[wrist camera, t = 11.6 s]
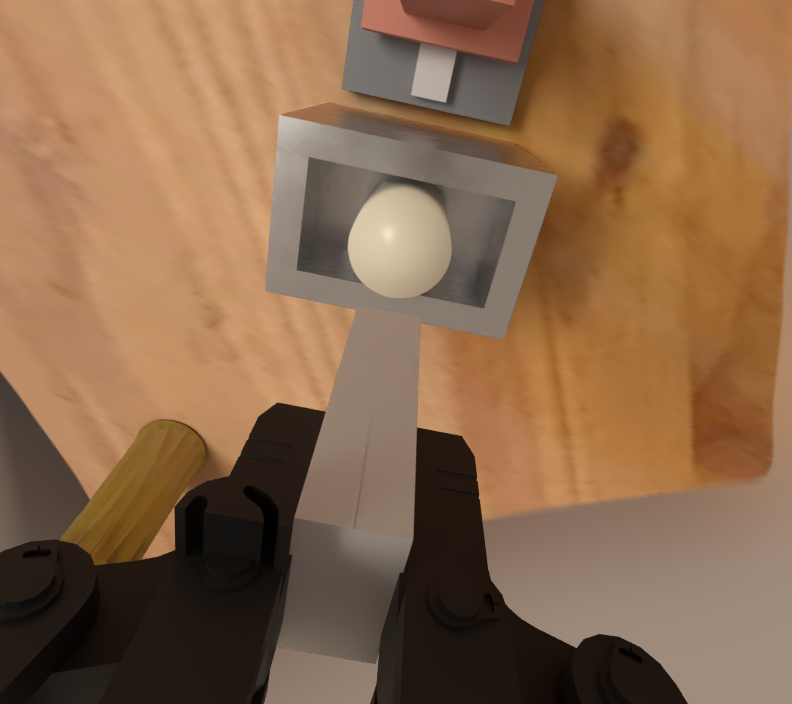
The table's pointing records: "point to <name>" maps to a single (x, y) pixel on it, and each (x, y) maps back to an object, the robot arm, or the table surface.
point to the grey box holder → (415, 159)
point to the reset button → (401, 239)
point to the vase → (138, 494)
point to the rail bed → (435, 72)
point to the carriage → (454, 24)
